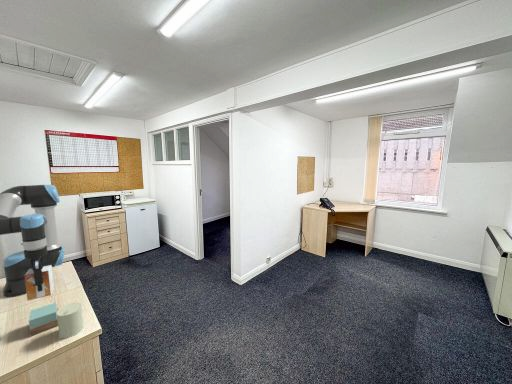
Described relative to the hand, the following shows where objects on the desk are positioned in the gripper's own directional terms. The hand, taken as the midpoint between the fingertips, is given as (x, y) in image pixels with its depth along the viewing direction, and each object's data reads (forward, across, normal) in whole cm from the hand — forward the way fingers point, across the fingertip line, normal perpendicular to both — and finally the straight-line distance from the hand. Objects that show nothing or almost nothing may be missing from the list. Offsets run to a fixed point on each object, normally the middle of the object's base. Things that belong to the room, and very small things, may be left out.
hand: (41, 292), depth 101 cm
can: (+18, +13, +9) cm, 24 cm away
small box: (+1, 0, 0) cm, 1 cm away
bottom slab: (+18, 0, 0) cm, 18 cm away
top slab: (+14, 0, 0) cm, 14 cm away
